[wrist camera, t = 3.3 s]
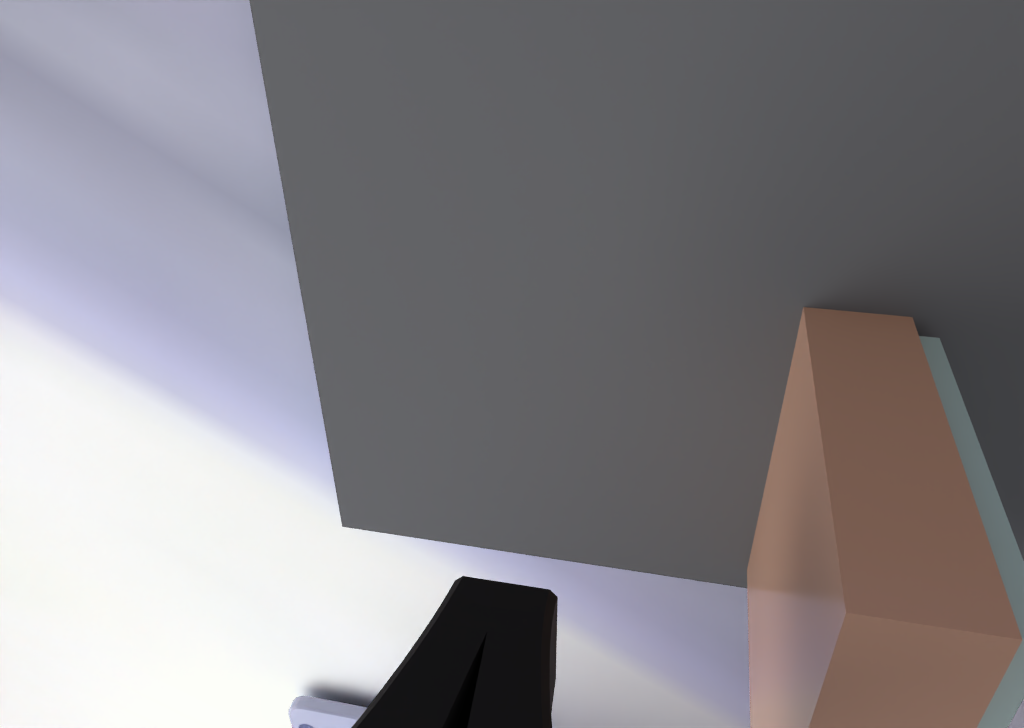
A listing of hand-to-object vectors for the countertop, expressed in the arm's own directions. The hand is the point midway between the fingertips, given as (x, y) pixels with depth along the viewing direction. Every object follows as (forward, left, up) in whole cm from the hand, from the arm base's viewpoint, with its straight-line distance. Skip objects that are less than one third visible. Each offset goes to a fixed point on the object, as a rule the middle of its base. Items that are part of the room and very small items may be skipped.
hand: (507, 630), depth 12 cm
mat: (+2, -4, -5) cm, 7 cm away
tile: (0, -5, -5) cm, 7 cm away
